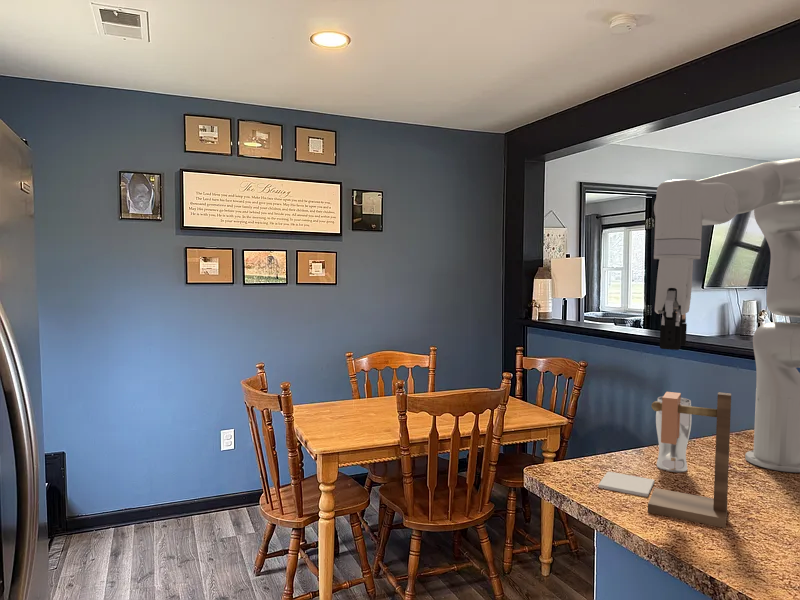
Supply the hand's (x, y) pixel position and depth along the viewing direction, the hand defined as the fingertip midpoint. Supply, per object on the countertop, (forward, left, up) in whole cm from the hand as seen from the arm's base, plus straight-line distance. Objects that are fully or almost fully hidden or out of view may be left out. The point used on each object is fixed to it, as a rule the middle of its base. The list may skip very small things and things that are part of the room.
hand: (673, 346), depth 104 cm
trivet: (-7, -8, -29) cm, 31 cm away
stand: (+1, +3, -29) cm, 29 cm away
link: (+1, 0, -17) cm, 17 cm away
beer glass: (-23, -2, -29) cm, 37 cm away
